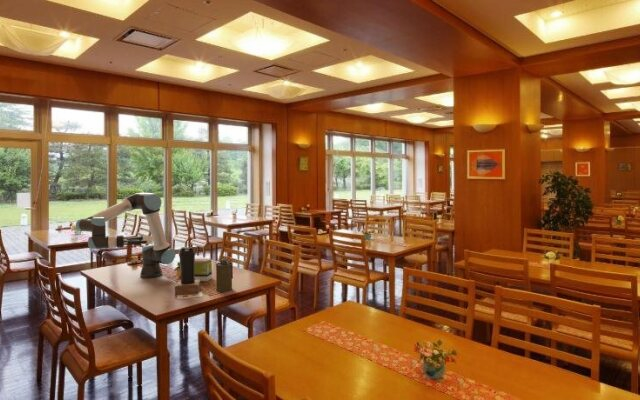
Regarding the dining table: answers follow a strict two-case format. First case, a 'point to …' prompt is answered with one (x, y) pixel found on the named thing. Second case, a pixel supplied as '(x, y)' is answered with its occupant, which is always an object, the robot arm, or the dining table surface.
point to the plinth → (187, 288)
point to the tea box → (203, 269)
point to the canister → (224, 276)
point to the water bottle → (187, 265)
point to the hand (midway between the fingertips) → (153, 239)
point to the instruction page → (189, 296)
